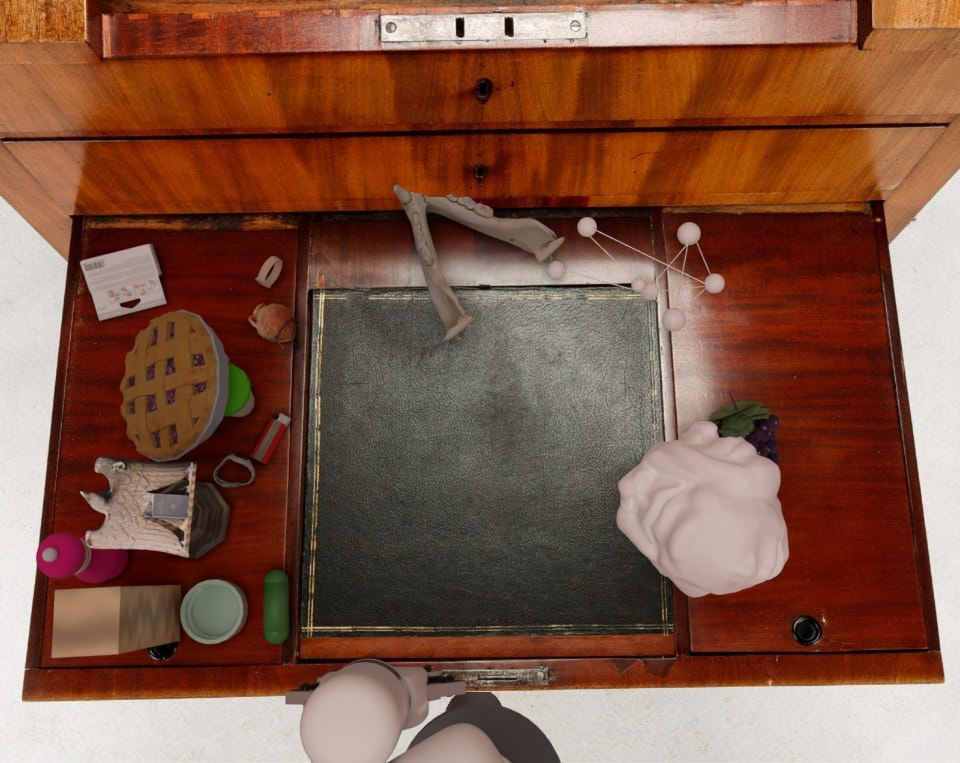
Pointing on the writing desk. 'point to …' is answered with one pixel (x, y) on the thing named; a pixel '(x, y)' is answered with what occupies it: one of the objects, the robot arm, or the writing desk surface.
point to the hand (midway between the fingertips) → (382, 682)
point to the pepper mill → (79, 559)
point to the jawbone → (481, 219)
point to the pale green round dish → (214, 611)
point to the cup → (238, 393)
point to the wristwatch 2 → (239, 460)
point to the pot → (275, 323)
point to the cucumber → (276, 607)
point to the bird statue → (157, 508)
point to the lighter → (270, 438)
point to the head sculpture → (706, 512)
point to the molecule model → (649, 290)
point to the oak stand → (114, 619)
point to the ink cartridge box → (124, 281)
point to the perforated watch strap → (264, 272)
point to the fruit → (749, 426)
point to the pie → (174, 386)
